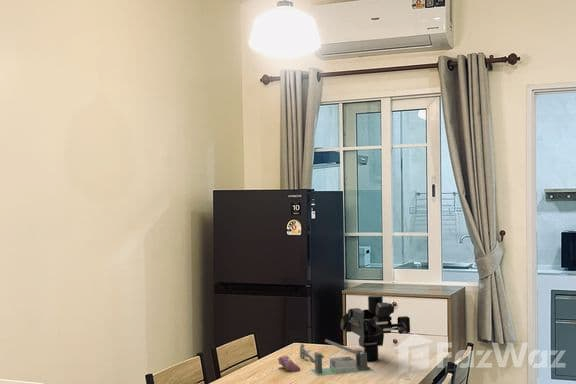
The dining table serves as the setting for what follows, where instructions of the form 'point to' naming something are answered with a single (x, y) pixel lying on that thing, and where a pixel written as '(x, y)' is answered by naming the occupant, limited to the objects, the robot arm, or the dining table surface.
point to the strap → (343, 347)
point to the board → (328, 371)
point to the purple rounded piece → (288, 364)
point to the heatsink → (343, 364)
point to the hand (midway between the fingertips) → (394, 330)
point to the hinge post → (362, 361)
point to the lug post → (318, 362)
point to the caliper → (306, 353)
